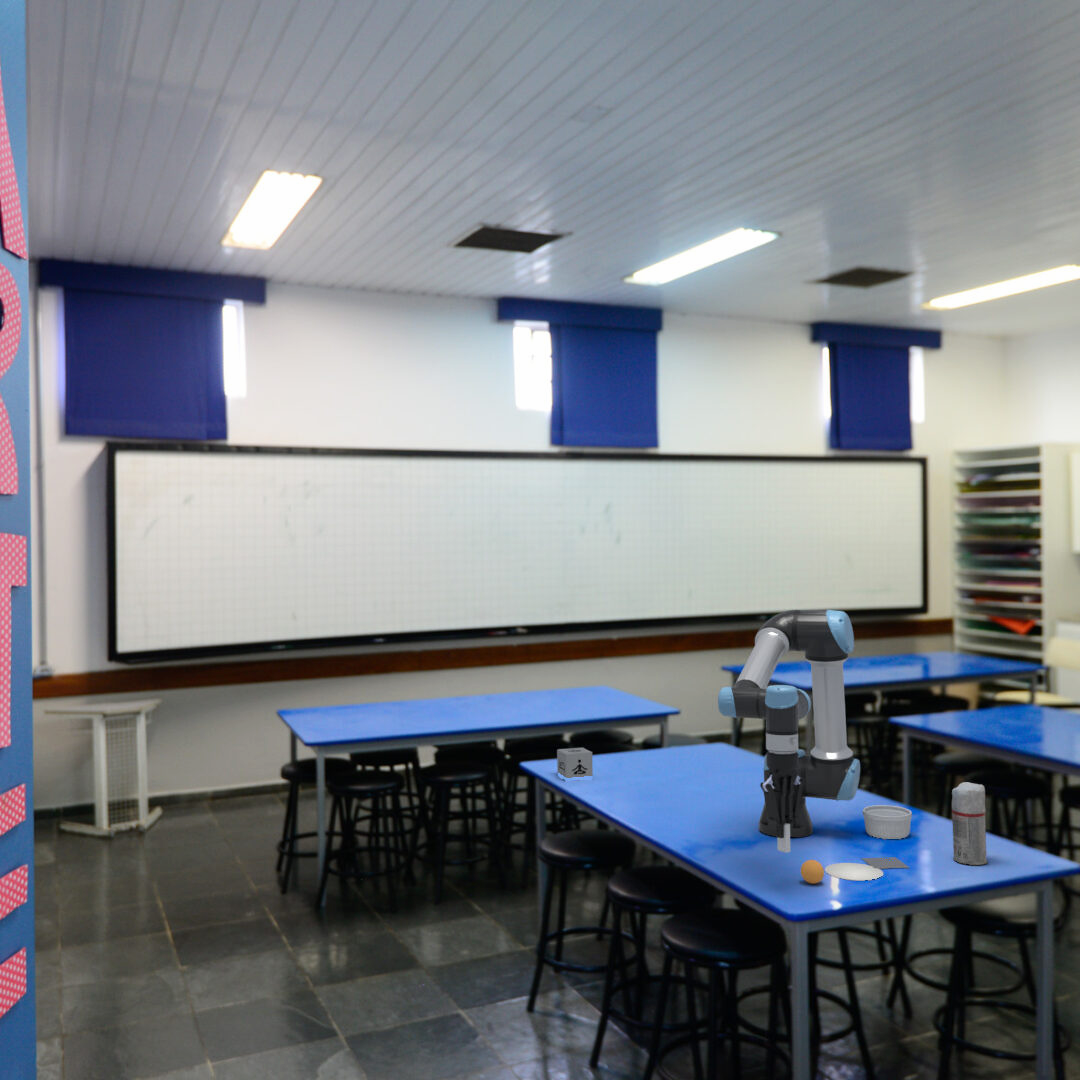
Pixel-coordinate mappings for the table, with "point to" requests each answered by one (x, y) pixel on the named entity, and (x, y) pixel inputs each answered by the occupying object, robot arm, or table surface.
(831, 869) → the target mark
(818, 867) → the ball
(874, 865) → the far mark
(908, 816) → the ramekin
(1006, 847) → the table surface
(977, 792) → the spray can
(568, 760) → the icon cube
